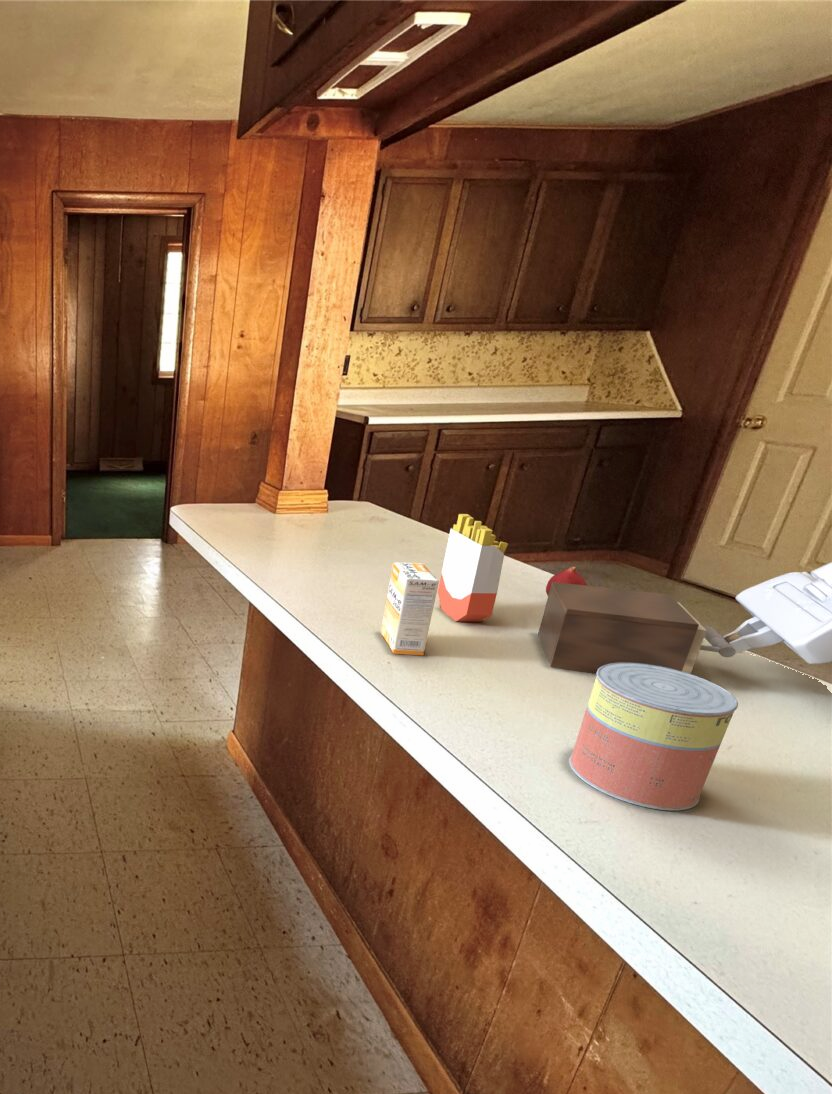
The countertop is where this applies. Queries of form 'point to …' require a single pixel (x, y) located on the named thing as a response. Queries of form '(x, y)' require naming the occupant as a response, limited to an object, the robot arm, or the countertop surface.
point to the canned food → (651, 734)
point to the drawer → (713, 638)
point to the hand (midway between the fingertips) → (728, 645)
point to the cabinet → (613, 628)
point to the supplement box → (409, 608)
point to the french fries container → (470, 571)
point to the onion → (566, 578)
